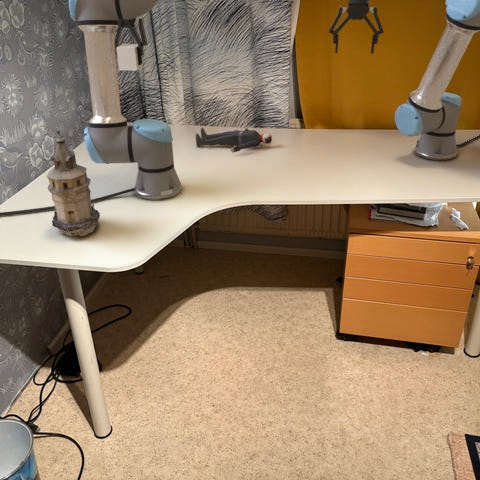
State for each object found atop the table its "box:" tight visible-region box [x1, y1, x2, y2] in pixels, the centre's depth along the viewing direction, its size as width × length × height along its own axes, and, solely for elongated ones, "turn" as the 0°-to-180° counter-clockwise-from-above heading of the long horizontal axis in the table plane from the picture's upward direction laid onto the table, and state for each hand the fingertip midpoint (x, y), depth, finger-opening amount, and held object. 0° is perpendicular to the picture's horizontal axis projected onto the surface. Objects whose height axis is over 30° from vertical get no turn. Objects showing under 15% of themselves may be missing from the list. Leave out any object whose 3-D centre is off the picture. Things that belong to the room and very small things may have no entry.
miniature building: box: [46, 129, 101, 237], centre depth 148 cm, size 13×14×30 cm
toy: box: [195, 127, 273, 154], centre depth 215 cm, size 26×6×30 cm
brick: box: [116, 43, 144, 72], centre depth 211 cm, size 7×8×9 cm
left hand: (130, 64), depth 212 cm, fingers closed on brick, 7 cm apart
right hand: (354, 52), depth 207 cm, fingers open, 13 cm apart
